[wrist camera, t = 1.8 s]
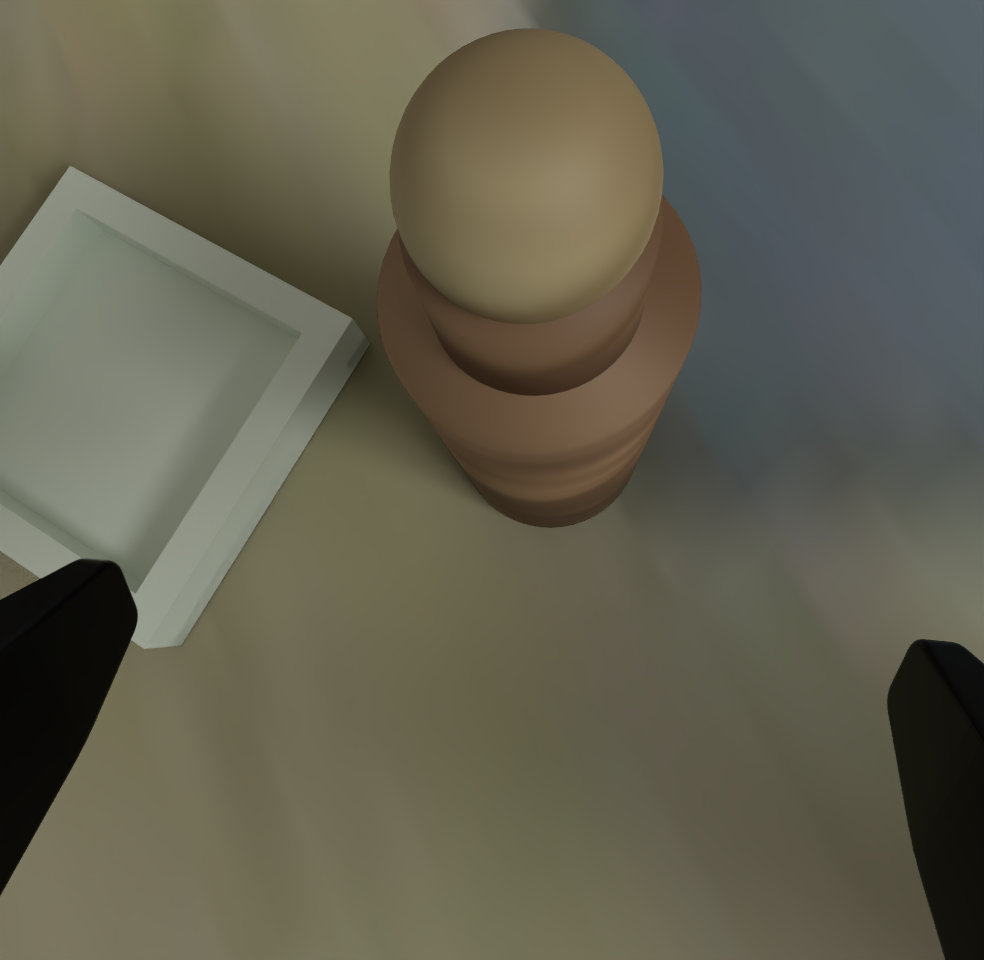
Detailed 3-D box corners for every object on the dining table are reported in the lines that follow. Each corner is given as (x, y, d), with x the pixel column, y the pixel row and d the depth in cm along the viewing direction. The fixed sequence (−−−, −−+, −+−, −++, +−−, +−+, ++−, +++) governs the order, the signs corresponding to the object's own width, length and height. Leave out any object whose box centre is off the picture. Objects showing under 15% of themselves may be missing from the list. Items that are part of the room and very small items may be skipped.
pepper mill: (583, 560, 19) (621, 439, 6) (432, 473, 20) (166, 197, 7) (669, 408, 20) (884, -20, 6) (518, 330, 21) (430, -191, 7)
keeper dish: (181, 645, 20) (143, 648, 18) (-78, 471, 22) (-136, 458, 20) (370, 343, 21) (352, 318, 19) (108, 200, 23) (70, 165, 21)
